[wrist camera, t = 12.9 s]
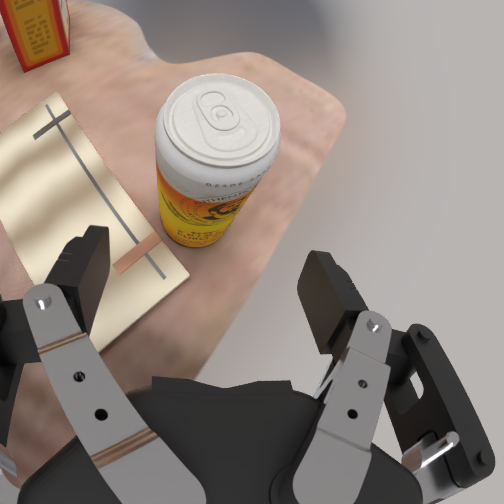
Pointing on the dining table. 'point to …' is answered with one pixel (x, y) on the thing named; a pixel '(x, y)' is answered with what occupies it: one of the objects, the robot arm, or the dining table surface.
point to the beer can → (212, 154)
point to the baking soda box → (37, 30)
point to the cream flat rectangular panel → (79, 215)
